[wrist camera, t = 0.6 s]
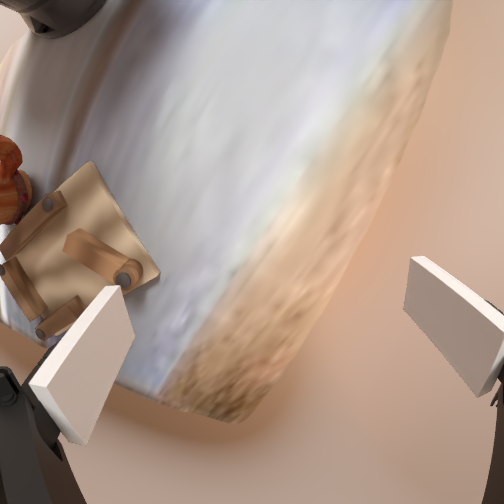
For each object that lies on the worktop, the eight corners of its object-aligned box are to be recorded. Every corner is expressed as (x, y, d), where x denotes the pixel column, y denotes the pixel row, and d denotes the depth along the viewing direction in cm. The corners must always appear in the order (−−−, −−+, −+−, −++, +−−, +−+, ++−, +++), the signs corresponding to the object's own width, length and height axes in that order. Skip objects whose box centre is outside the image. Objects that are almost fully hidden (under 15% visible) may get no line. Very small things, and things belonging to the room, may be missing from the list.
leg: (146, 265, 37) (137, 277, 34) (138, 283, 38) (129, 296, 34) (80, 226, 35) (66, 233, 32) (74, 244, 36) (60, 253, 32)
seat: (5, 246, 37) (-14, 257, 32) (92, 161, 34) (73, 163, 29) (60, 331, 42) (46, 348, 37) (160, 271, 39) (149, 288, 34)
